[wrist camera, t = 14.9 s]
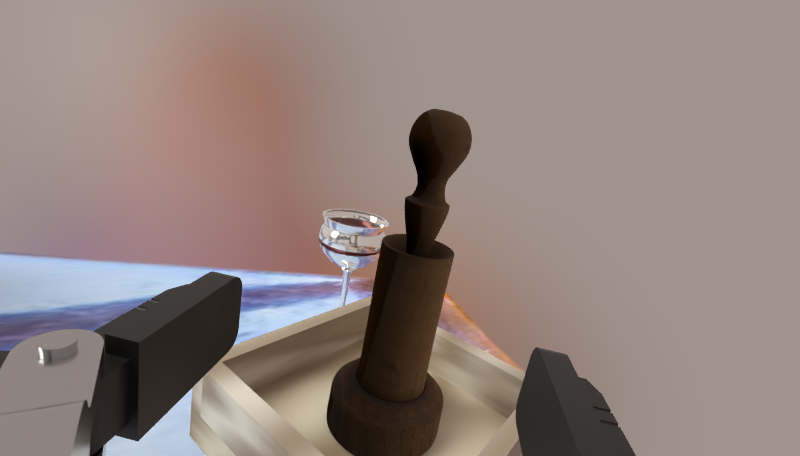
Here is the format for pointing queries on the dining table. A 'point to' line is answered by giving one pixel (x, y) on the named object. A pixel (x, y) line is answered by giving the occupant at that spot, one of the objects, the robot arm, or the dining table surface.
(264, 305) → the dining table surface
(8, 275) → the dining table surface
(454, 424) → the cart
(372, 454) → the mortar and pestle
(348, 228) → the wineglass
